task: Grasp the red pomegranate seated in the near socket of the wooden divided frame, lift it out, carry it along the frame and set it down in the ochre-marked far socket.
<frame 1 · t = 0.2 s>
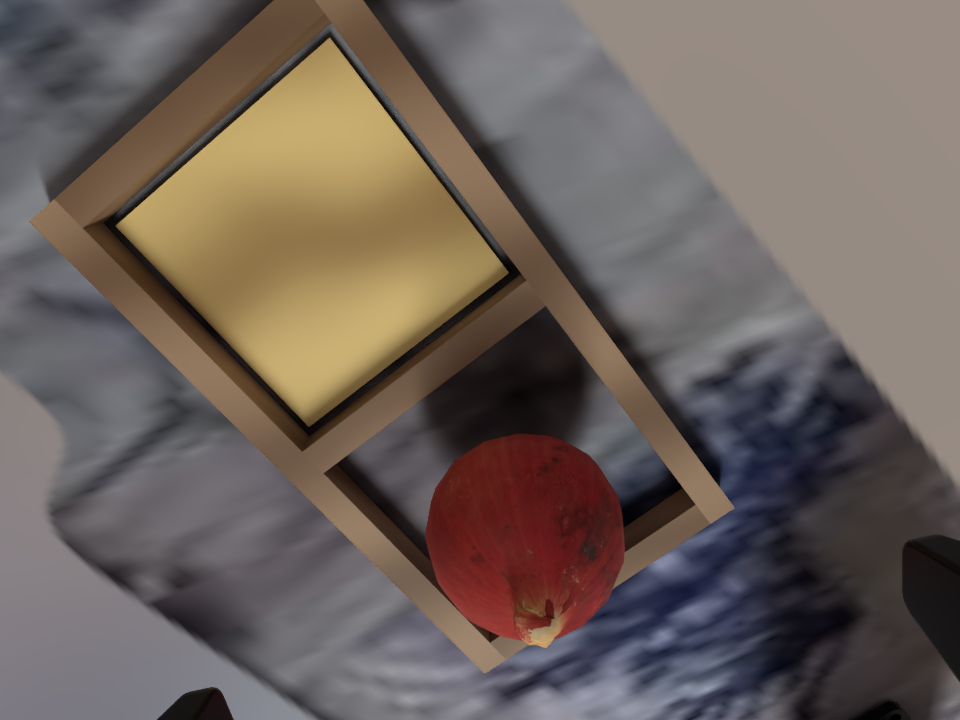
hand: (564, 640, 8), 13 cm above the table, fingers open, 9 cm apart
wooden divided frame: (421, 368, 21), on the table
red pomegranate: (510, 469, 23), resting in wooden divided frame
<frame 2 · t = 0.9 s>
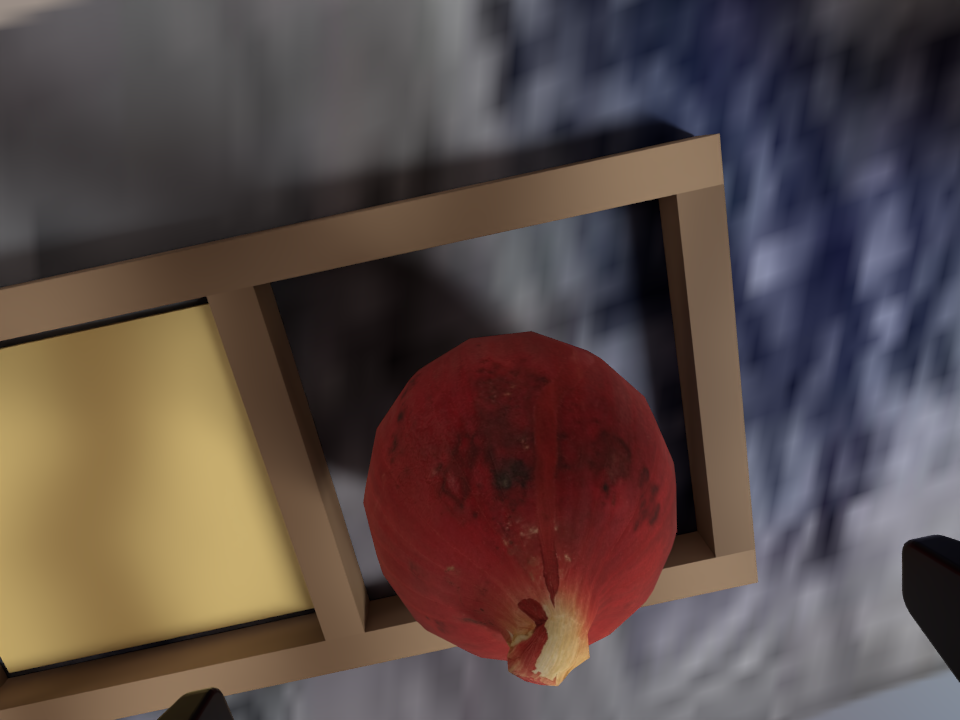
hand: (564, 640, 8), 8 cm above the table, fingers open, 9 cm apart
wooden divided frame: (303, 457, 16), on the table
red pomegranate: (500, 411, 16), resting in wooden divided frame
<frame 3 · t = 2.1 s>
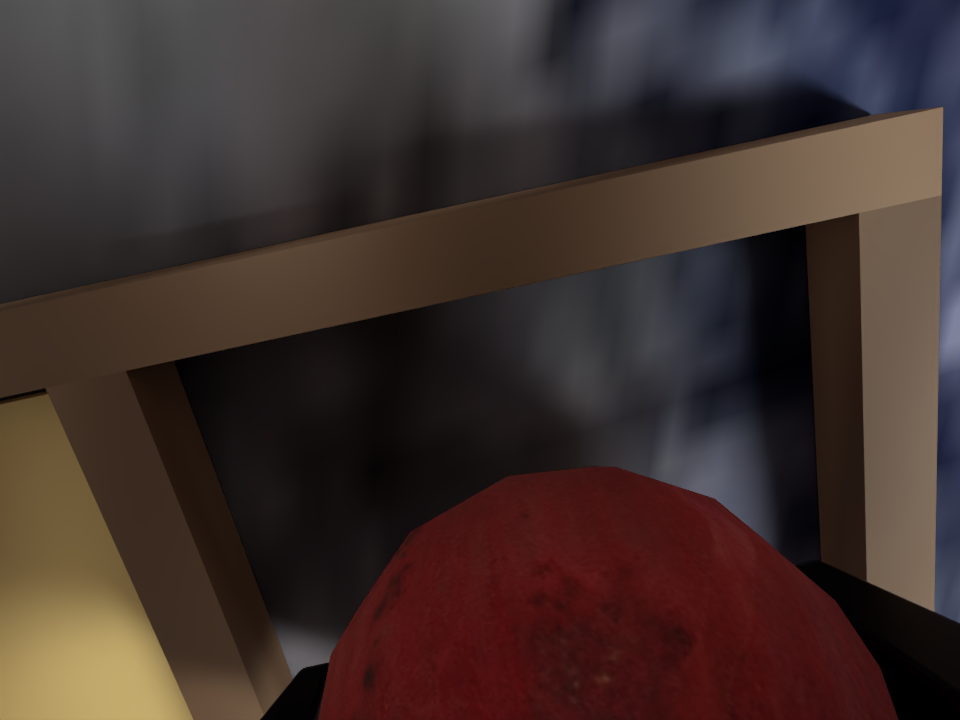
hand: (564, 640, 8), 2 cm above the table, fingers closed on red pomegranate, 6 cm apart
wooden divided frame: (235, 613, 10), on the table
red pomegranate: (538, 542, 10), resting in wooden divided frame, touching gripper
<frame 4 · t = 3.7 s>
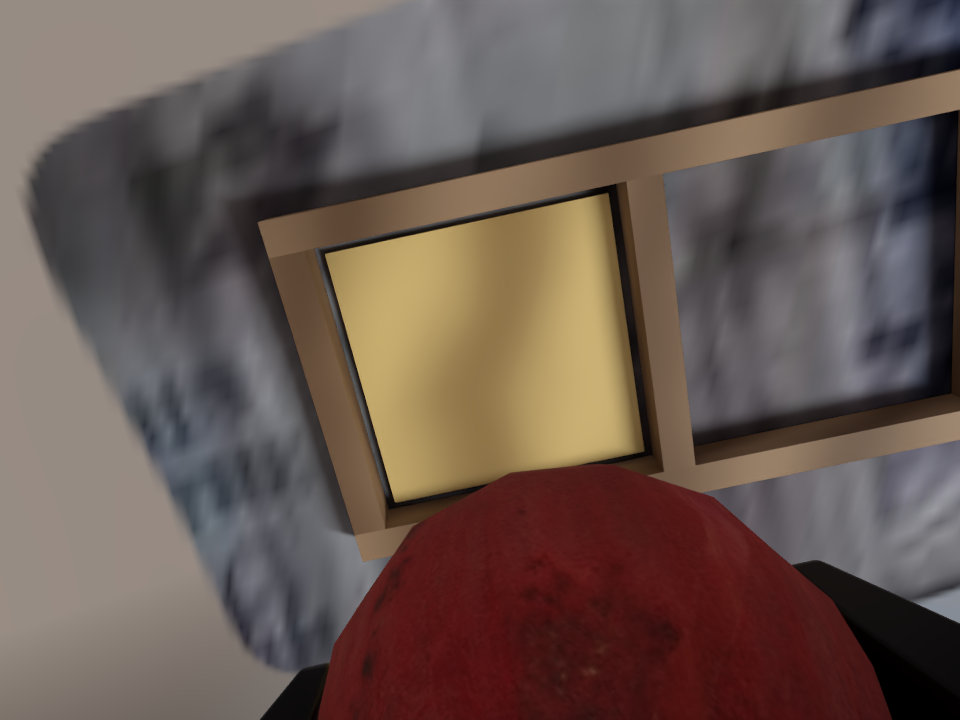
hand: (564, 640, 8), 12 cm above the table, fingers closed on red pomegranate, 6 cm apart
wooden divided frame: (651, 323, 20), on the table
red pomegranate: (545, 538, 10), point 10 cm above the table, touching gripper
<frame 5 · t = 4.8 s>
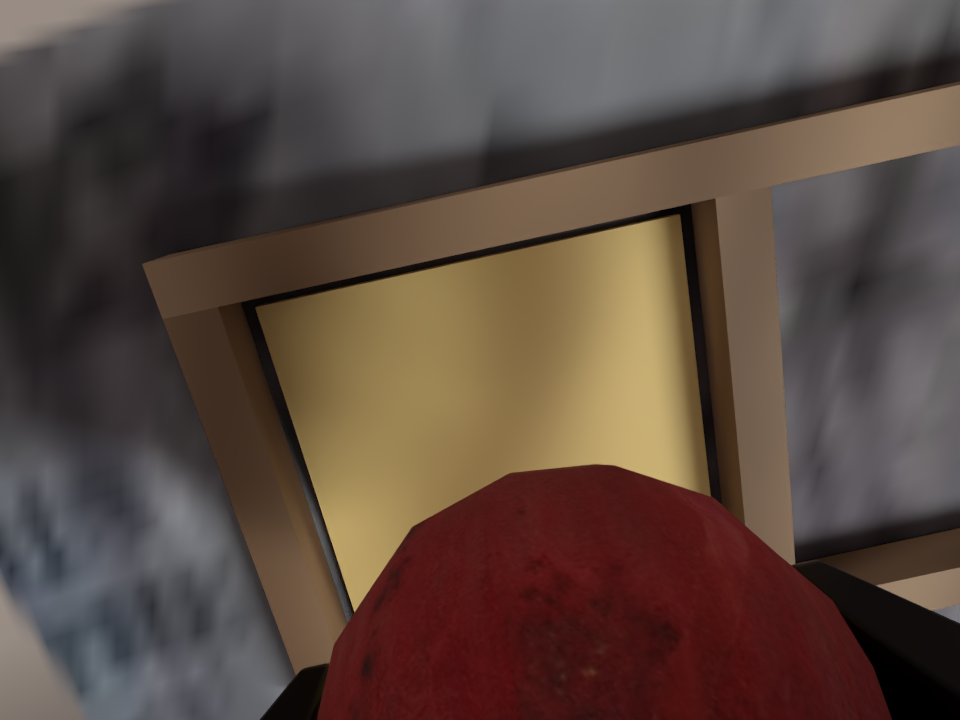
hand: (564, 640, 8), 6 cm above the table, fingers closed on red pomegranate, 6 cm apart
wooden divided frame: (734, 400, 14), on the table
red pomegranate: (545, 538, 10), point 3 cm above the table, touching gripper
when the fingers open (3 cm above the table, at t = 5.8 s): red pomegranate stays where it is, resting on wooden divided frame.
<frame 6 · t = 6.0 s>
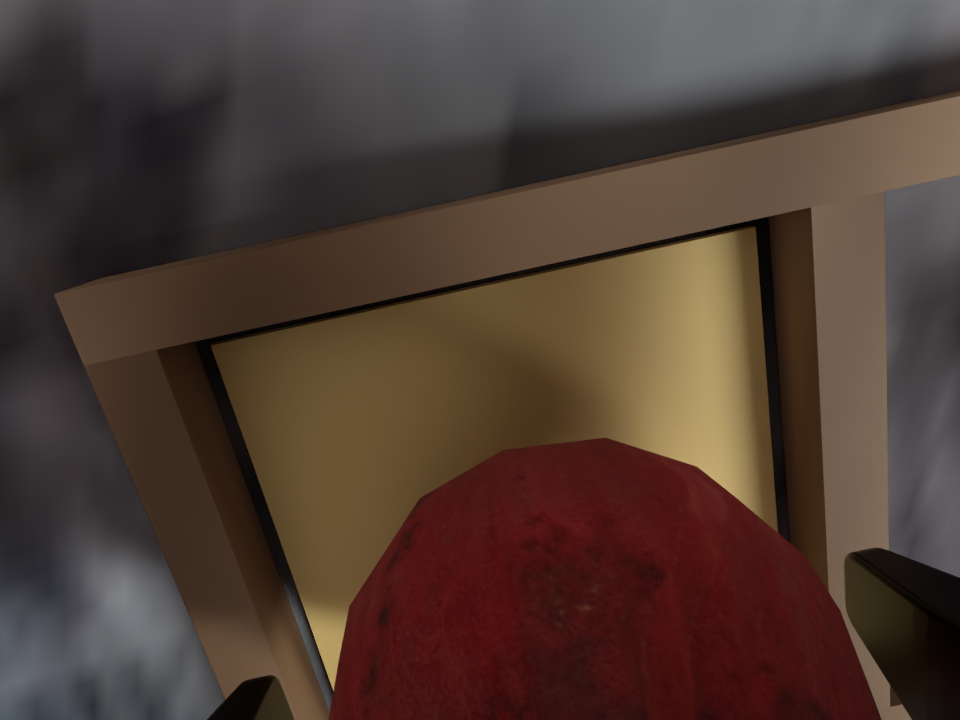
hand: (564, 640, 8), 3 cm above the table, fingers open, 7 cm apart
wooden divided frame: (813, 457, 11), on the table
red pomegranate: (542, 518, 11), resting on wooden divided frame
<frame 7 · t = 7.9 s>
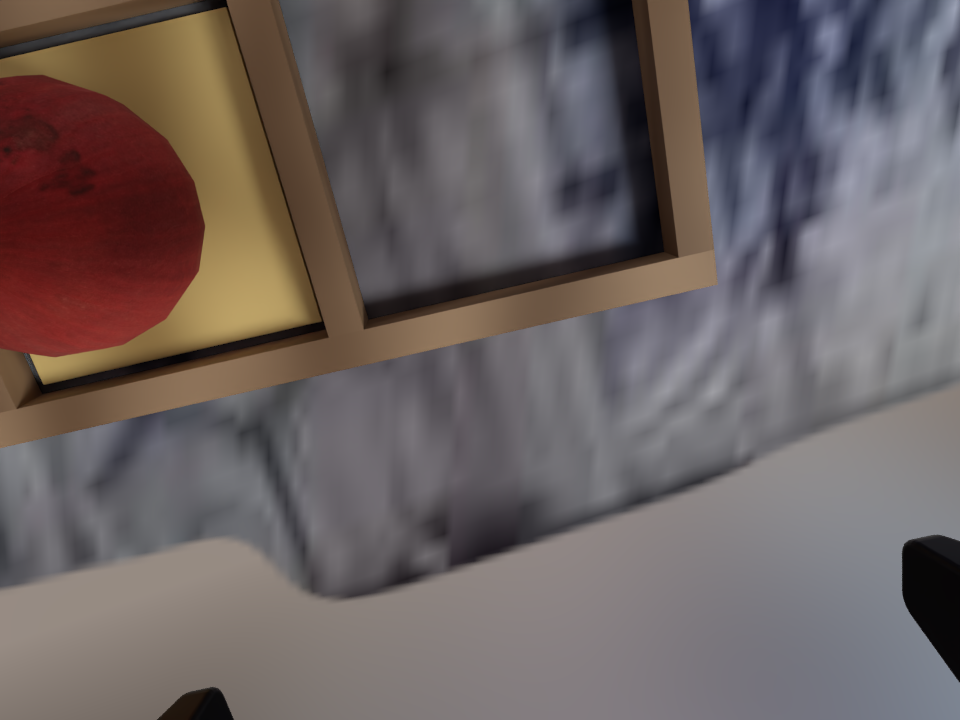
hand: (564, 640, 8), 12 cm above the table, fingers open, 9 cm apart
wooden divided frame: (307, 168, 18), on the table
red pomegranate: (138, 209, 18), resting on wooden divided frame
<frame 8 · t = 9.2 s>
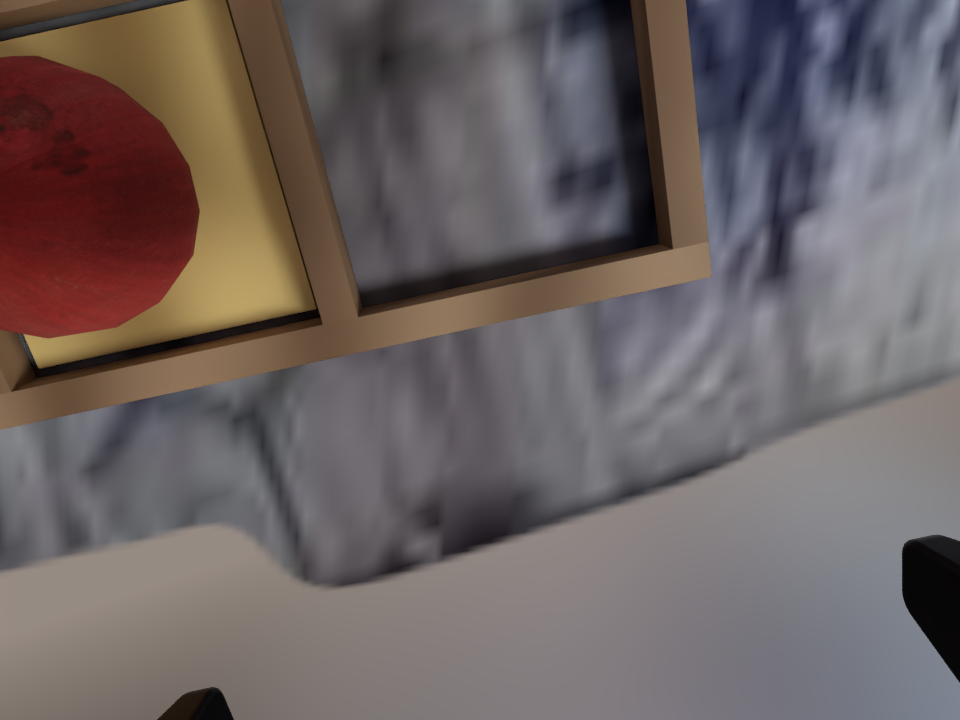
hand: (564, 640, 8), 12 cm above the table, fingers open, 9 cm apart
wooden divided frame: (303, 156, 18), on the table
red pomegranate: (134, 194, 18), resting on wooden divided frame
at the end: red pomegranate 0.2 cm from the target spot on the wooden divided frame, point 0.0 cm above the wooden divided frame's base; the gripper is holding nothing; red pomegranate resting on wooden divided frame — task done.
